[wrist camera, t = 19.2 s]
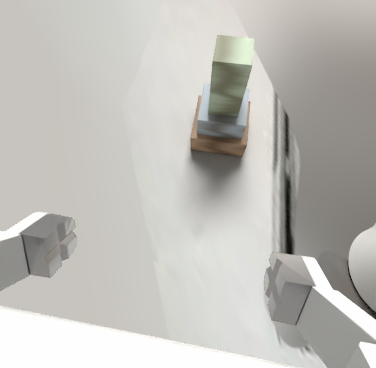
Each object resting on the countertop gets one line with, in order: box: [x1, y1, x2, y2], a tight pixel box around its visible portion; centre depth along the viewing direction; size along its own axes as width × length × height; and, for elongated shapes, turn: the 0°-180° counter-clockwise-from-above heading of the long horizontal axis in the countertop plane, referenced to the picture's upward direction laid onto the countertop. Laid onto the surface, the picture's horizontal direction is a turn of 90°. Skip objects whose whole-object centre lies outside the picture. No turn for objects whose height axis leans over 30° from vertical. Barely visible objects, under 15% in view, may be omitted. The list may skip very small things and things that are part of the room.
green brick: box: [208, 35, 254, 117], centre depth 35 cm, size 5×5×10 cm
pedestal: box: [191, 84, 250, 157], centre depth 43 cm, size 10×10×8 cm
